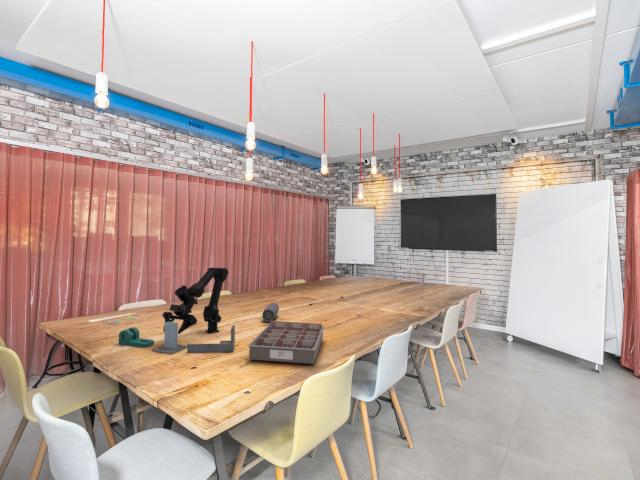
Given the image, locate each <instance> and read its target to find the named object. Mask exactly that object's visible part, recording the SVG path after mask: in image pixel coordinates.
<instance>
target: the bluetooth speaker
mask: <svg viewBox="0 0 640 480" xmlns="http://www.w3.org/2000/svg"><path fill="white" fill-rule="evenodd" d="M279 310H280V306H279V305H278V303H276V302H271V303H269V304H268V305H267V306H266V307H265V308H264V310H263V311H262V314H261V315H262V319H263V320H264V321H265V322H271V321H274V319H275V318H276V317H277V315H278V313H279Z"/></svg>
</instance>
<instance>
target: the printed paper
mask: <svg viewBox="0 0 640 480" xmlns="http://www.w3.org/2000/svg"><path fill="white" fill-rule="evenodd" d="M133 314H136V312H131V313H125V314H119V315H113V316H109V317H108V316H107V317H102V318H94V319H90V320H87V321H88V322H90V323H95V322H98V321H99V322H100V321H102V322H107V324H112V325H115V324H122V320H121V321H120V320H118V319H115V318H118V317H121V319H123V320H126V319H127V320H128V321H130V319H131V320H132V319H133V320H132V322H134V321H139V320H140V319H139V318H136V317H135V316H133ZM130 315H131V316H130Z"/></svg>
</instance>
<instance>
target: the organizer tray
mask: <svg viewBox="0 0 640 480" xmlns="http://www.w3.org/2000/svg"><path fill="white" fill-rule="evenodd" d="M324 328H325V326H323V323H316V322H315V323H314V322H298V321H297V322H296V321H278V320H272V321H270V323H269V324H268V325H267V326H266V327H264V329H263V330H262V331H261V332H260V333H259V334H258V335H257V336H256V337H255V338H254V339H253V340H252V341H251V342H249V343H248V345H247V347H248V348H249V349H248V350H249V351H248V360H254V361H268V362H283V363H296V364H311V365H314V364H315V362H316V359H317V357H318V353H319V350H320V347H321V344H322V341H323V337H324V334H323V333H324Z"/></svg>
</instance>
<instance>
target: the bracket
mask: <svg viewBox="0 0 640 480" xmlns="http://www.w3.org/2000/svg"><path fill="white" fill-rule="evenodd" d="M118 345H120V346H126V347H127V346H128V347H136V348H142V349H145V348H150V347H151V348H152V347H153V346H154V345H155V340H154V339H151V338H150V339H148V338H143V337H142V338H141V337H140V331H139V329H138V328H137V327H135V326H133V327H128V328H127V329H126V328H125V329H123V330H121V331H120V332H119V334H118Z"/></svg>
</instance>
